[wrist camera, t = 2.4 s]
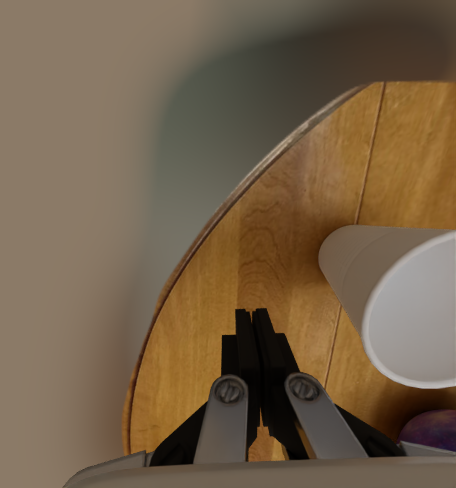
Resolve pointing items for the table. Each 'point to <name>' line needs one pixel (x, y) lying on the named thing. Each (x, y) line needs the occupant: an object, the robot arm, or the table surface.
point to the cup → (398, 298)
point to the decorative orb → (431, 430)
